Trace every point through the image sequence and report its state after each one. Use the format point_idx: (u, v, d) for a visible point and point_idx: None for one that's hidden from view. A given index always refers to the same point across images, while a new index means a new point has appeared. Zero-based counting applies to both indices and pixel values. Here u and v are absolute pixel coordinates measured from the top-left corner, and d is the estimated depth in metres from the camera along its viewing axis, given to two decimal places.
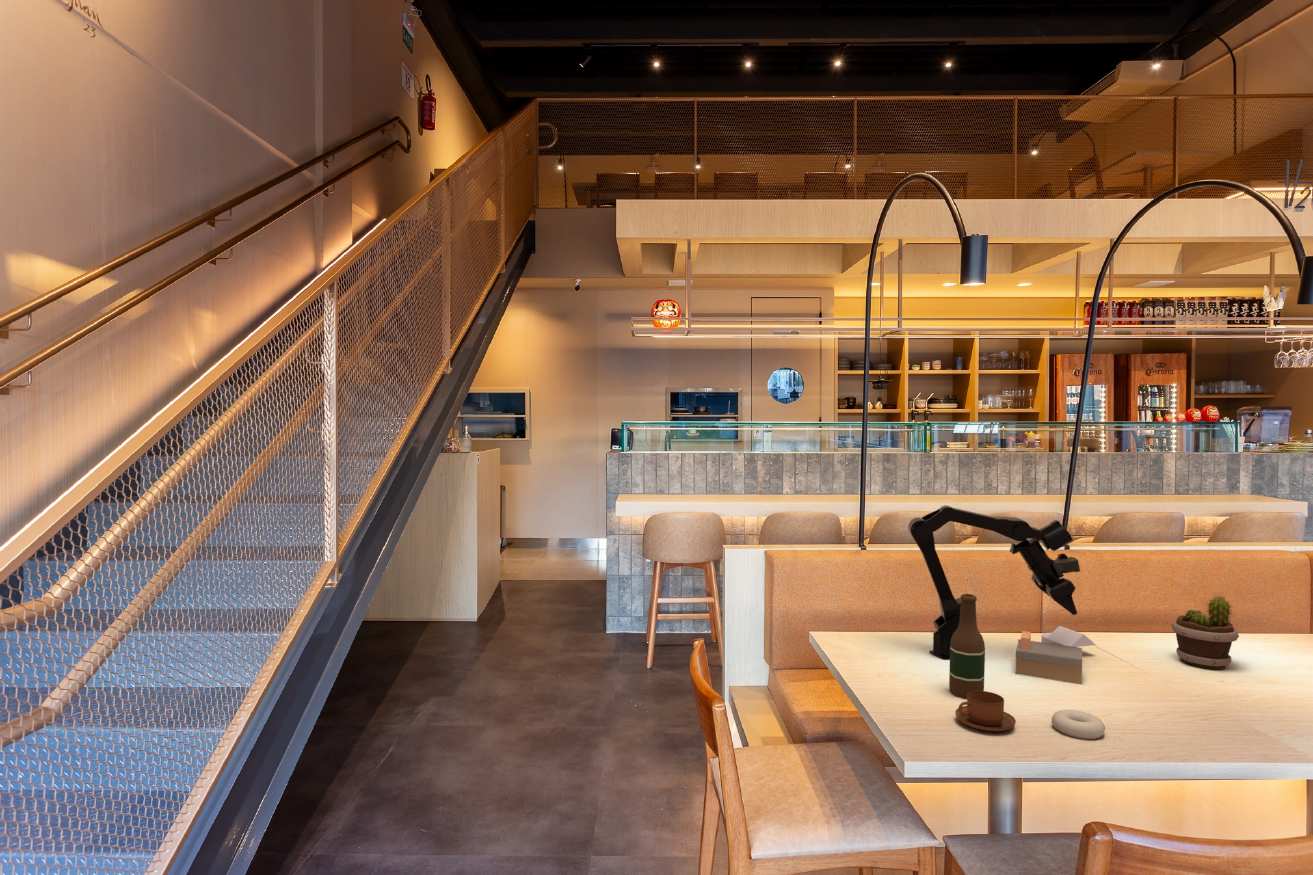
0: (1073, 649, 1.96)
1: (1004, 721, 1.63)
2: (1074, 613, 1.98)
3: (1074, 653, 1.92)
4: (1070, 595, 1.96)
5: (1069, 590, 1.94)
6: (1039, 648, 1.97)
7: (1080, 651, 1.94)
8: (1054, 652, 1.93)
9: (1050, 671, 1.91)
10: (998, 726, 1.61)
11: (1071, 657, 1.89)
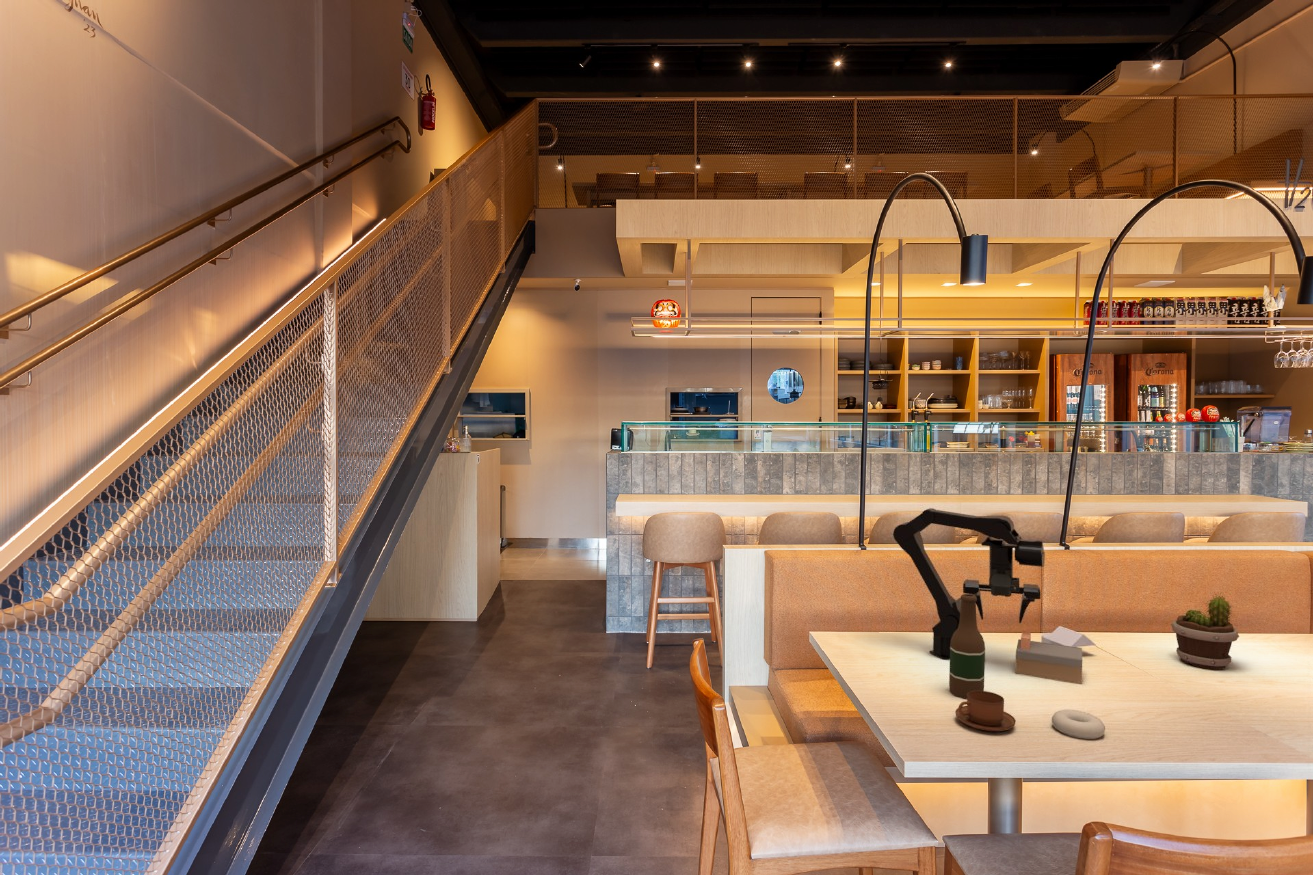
0: (1073, 649, 1.96)
1: (1004, 721, 1.63)
2: (981, 617, 2.04)
3: (1074, 653, 1.92)
4: None
5: None
6: (1039, 648, 1.97)
7: (1080, 651, 1.94)
8: (1054, 652, 1.93)
9: (1050, 671, 1.91)
10: (998, 726, 1.62)
11: (1071, 657, 1.89)
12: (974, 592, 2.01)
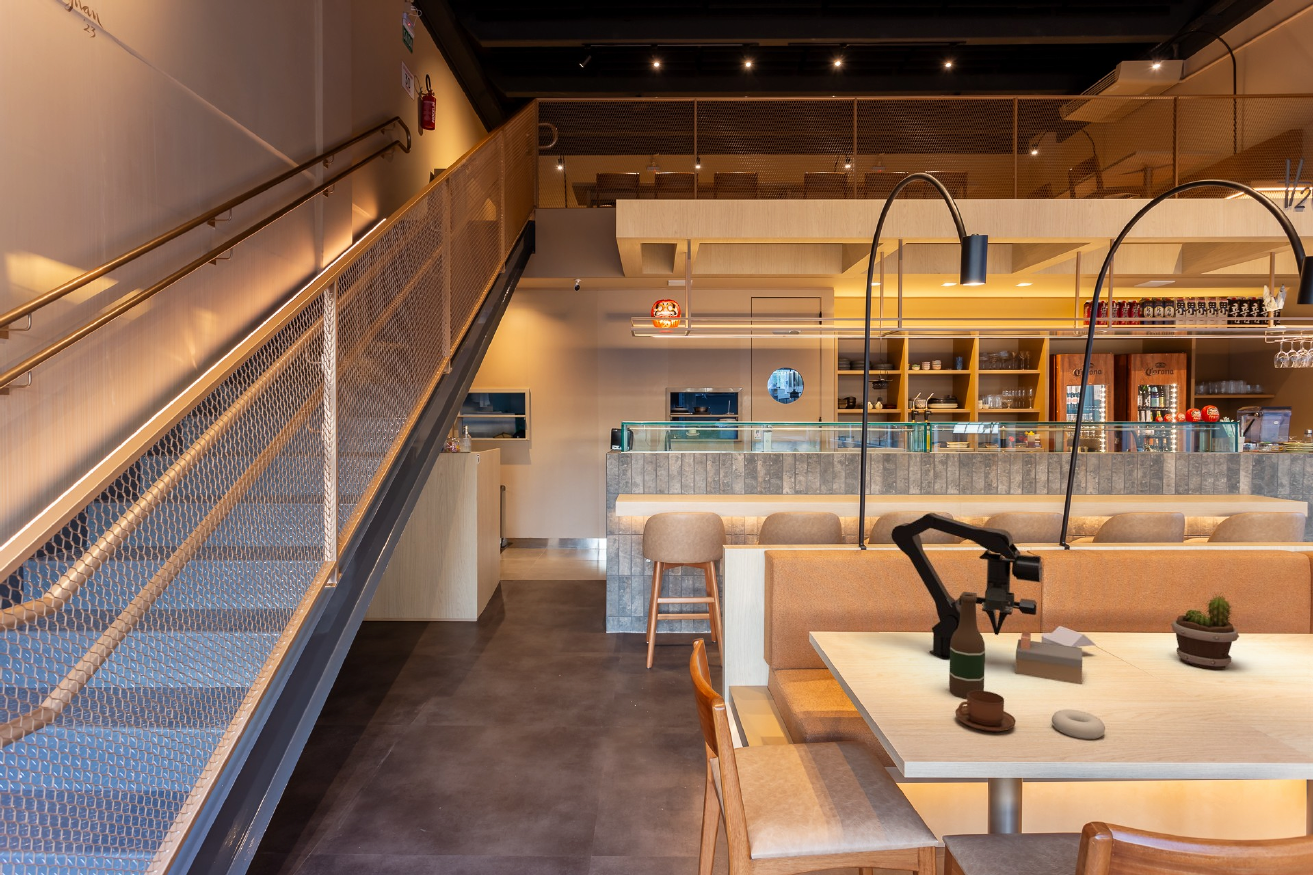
0: (1073, 649, 1.96)
1: (1004, 721, 1.63)
2: (994, 632, 2.02)
3: (1074, 653, 1.92)
4: None
5: None
6: (1039, 648, 1.97)
7: (1080, 651, 1.94)
8: (1054, 652, 1.93)
9: (1050, 671, 1.91)
10: (998, 726, 1.62)
11: (1071, 657, 1.89)
12: None
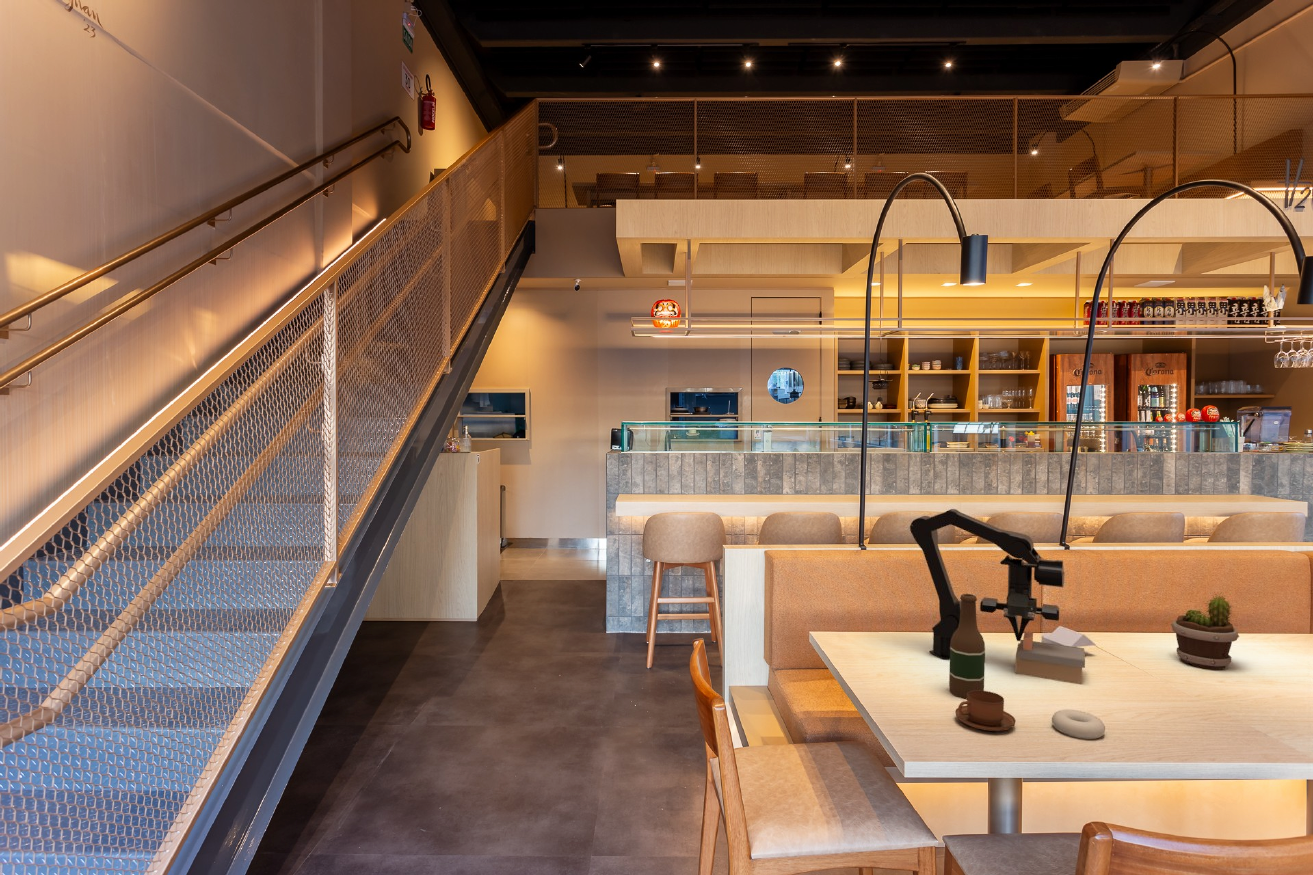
0: (1075, 649, 1.96)
1: (1004, 720, 1.64)
2: (1016, 638, 2.00)
3: (1076, 653, 1.92)
4: None
5: None
6: (1041, 648, 1.96)
7: (1082, 651, 1.94)
8: (1056, 652, 1.93)
9: (1050, 671, 1.91)
10: (998, 726, 1.62)
11: (1074, 658, 1.89)
12: (991, 611, 1.99)
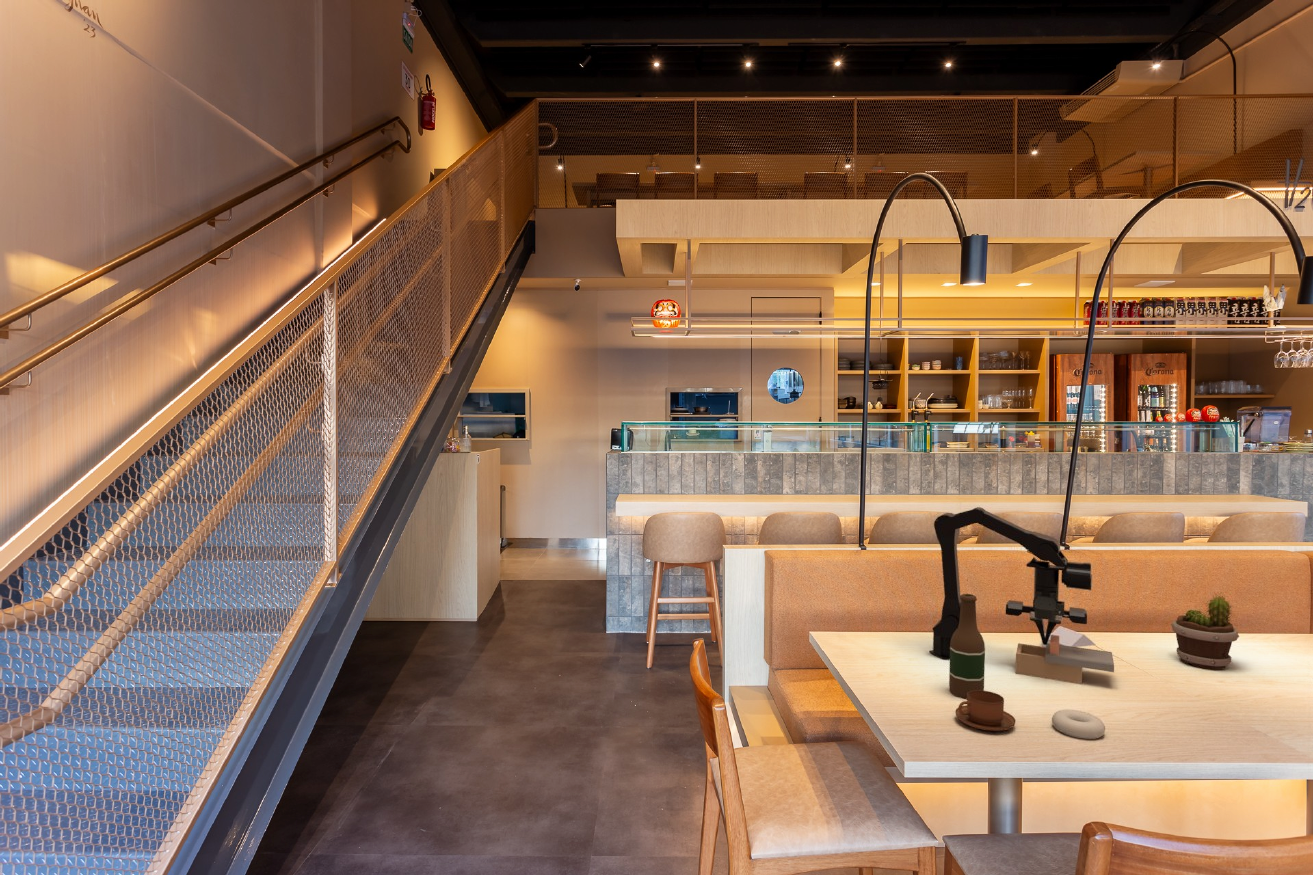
0: (1103, 653, 1.93)
1: (1004, 720, 1.64)
2: None
3: (1104, 657, 1.89)
4: None
5: None
6: (1068, 652, 1.93)
7: (1110, 655, 1.91)
8: (1084, 656, 1.90)
9: (1050, 671, 1.91)
10: (998, 726, 1.62)
11: (1102, 662, 1.86)
12: (1017, 614, 1.96)
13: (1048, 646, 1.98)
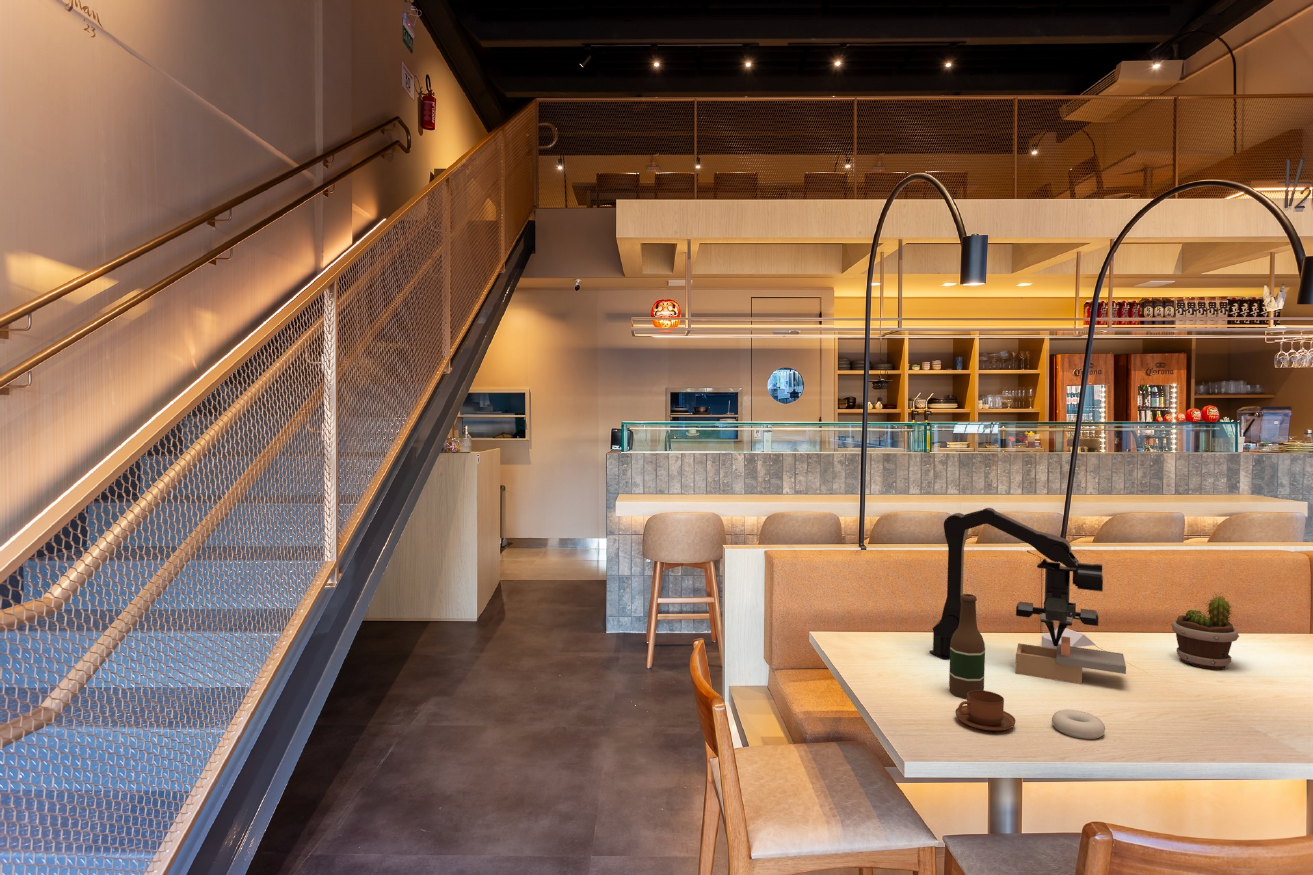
0: (1114, 655, 1.91)
1: (1004, 720, 1.64)
2: None
3: (1116, 659, 1.88)
4: None
5: None
6: (1079, 653, 1.92)
7: (1122, 657, 1.90)
8: (1096, 658, 1.89)
9: (1050, 671, 1.91)
10: (998, 725, 1.62)
11: (1114, 663, 1.85)
12: (1027, 615, 1.95)
13: (1059, 647, 1.97)
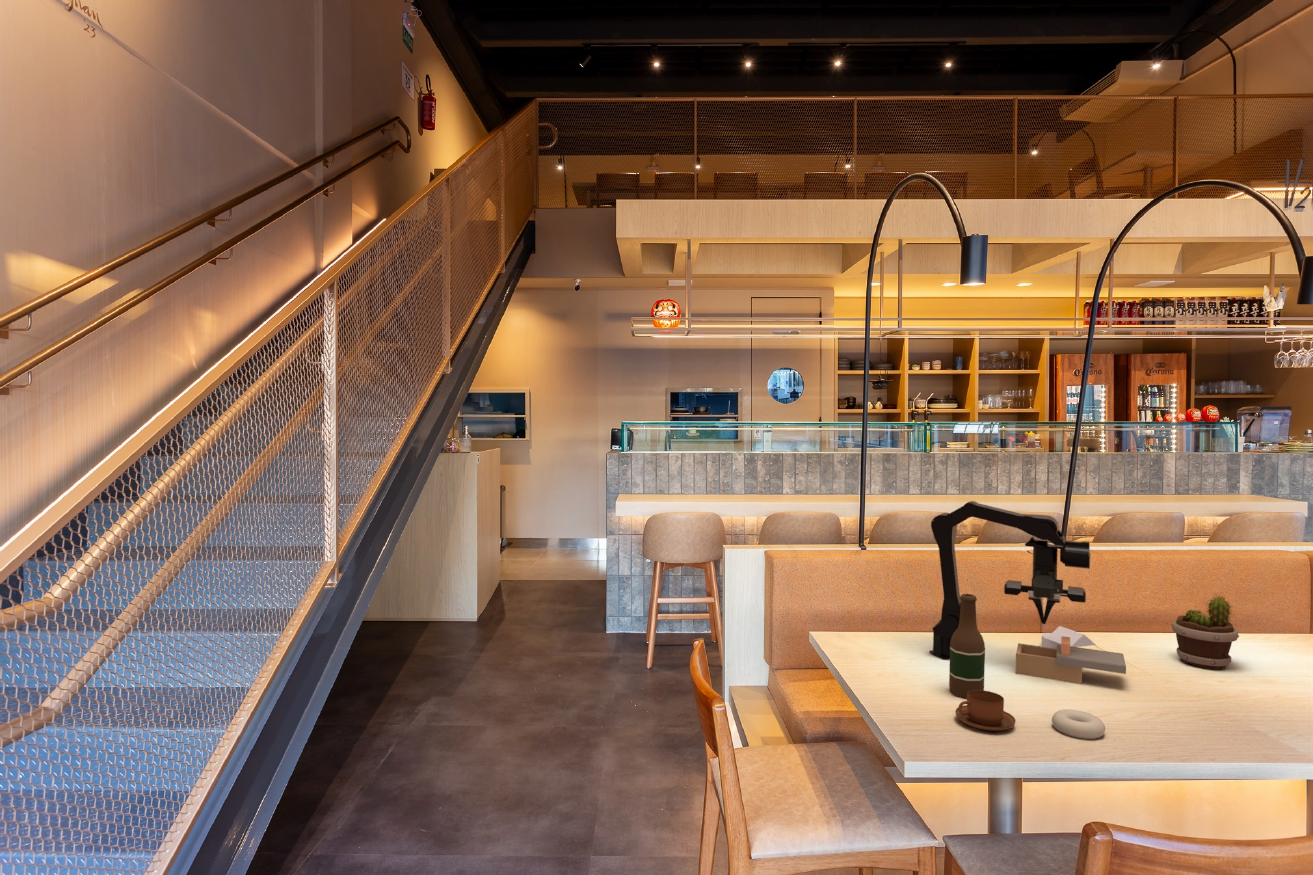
0: (1114, 655, 1.91)
1: (1004, 720, 1.64)
2: (1041, 621, 1.97)
3: (1116, 659, 1.88)
4: None
5: None
6: (1079, 653, 1.92)
7: (1122, 657, 1.90)
8: (1096, 658, 1.89)
9: (1050, 671, 1.91)
10: (998, 725, 1.62)
11: (1114, 663, 1.85)
12: (1016, 593, 1.97)
13: (1059, 648, 1.97)
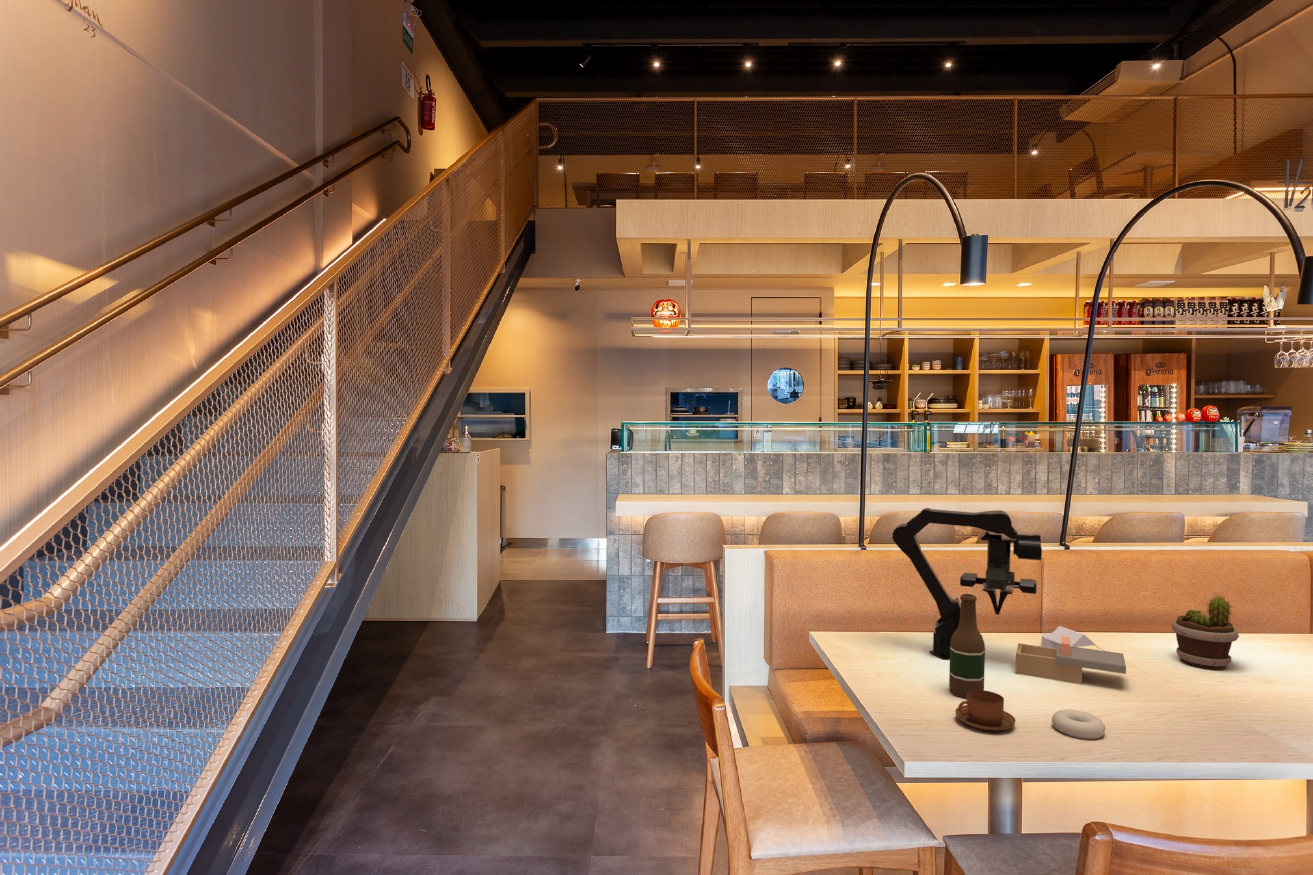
0: (1114, 655, 1.91)
1: (1004, 720, 1.64)
2: None
3: (1116, 659, 1.88)
4: None
5: None
6: (1079, 653, 1.92)
7: (1122, 657, 1.90)
8: (1096, 658, 1.89)
9: (1050, 671, 1.91)
10: (998, 725, 1.62)
11: (1114, 663, 1.85)
12: (971, 585, 2.04)
13: (1059, 648, 1.97)
